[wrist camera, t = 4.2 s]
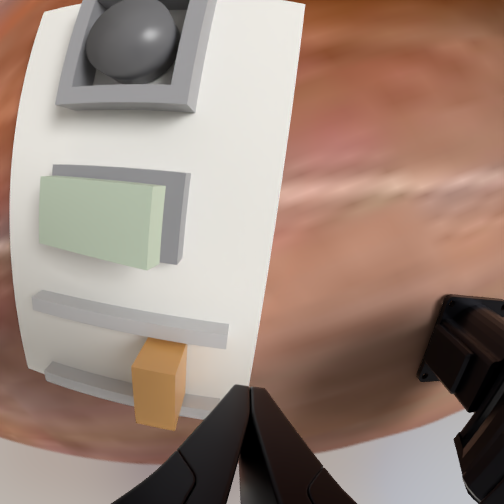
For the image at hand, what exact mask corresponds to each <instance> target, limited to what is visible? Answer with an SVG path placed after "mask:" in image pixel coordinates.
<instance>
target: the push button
mask: <svg viewBox="0 0 504 504" xmlns="http://www.w3.org/2000/svg"><path fill="white" fill-rule="evenodd" d="M180 38H181V35H180V32H179V29H178V27H177V26H176V24H175V22H174V20H173V18H172V16H171V14H170V12H169V11H168V9H167V8H166V6H165V5H164V4H162V3H161V2H159V1H158V0H123V1H121V2H119V3H116V4H115V5H113V6H111V7H110V8H109V9H107V10H106V11H105V12H104V13H103V14H102V15H101V16H100V17H99V18H98V19H97V20H96V22H95V23H94V25H93V26H92V28H91V30H90V32H89V35H88V38H87V43H86V52H87V56H88V59H89V61H90V62H91V64H92V65H93V66H94V67H95V68H96V69H98V70H99V71H101V72H102V73H104V74H106V75H107V76H109V77H111V78H112V79H114V80H115V81H117V82H119V83H122V84H144V83H148V82H150V81H152V80H154V79H156V78H158V77H160V76H161V75H162V74H164V73H165V72H166V71H167V70H168V69H169V68H170V67H171V66H172V64H173V63H174V62H175V60H176V57H177V52H178V47H179V43H180Z"/></svg>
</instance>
